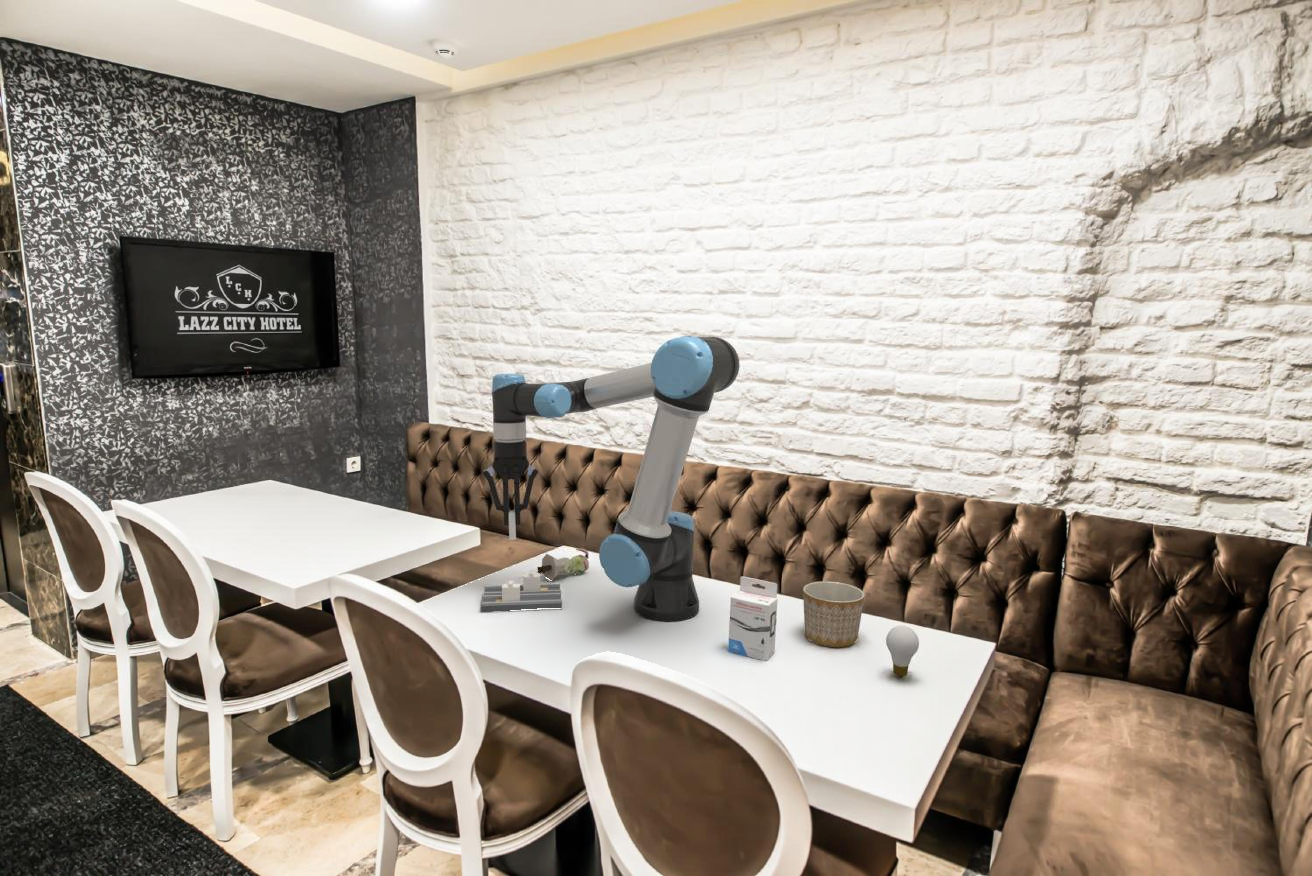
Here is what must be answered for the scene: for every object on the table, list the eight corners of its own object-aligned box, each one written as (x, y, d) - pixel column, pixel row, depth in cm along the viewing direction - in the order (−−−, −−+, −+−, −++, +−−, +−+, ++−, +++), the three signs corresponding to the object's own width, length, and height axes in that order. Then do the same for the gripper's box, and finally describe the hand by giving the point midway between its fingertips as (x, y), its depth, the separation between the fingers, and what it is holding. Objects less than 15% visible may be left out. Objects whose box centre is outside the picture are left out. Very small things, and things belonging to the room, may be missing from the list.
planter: (812, 622, 169) (814, 577, 167) (868, 635, 162) (871, 588, 161) (791, 641, 158) (794, 593, 156) (851, 656, 151) (854, 606, 150)
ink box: (726, 652, 152) (729, 582, 150) (736, 643, 156) (739, 575, 154) (766, 661, 148) (770, 590, 146) (775, 652, 152) (779, 582, 150)
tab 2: (540, 587, 182) (540, 570, 182) (540, 590, 180) (540, 573, 179) (523, 587, 182) (523, 570, 181) (523, 591, 179) (523, 574, 179)
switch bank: (559, 591, 185) (559, 583, 184) (561, 609, 173) (561, 600, 173) (484, 594, 182) (484, 585, 181) (481, 612, 170) (481, 603, 170)
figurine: (551, 581, 187) (600, 573, 197) (547, 552, 188) (596, 545, 198) (534, 584, 193) (582, 576, 203) (530, 556, 195) (578, 549, 204)
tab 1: (520, 598, 175) (519, 580, 174) (519, 601, 172) (519, 583, 172) (502, 598, 174) (502, 580, 173) (502, 602, 172) (501, 584, 171)
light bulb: (890, 667, 147) (894, 618, 145) (920, 676, 143) (924, 626, 142) (878, 677, 142) (882, 627, 141) (909, 687, 138) (913, 635, 137)
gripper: (538, 437, 180) (540, 533, 183) (482, 438, 178) (485, 535, 181) (538, 441, 173) (540, 541, 176) (480, 442, 171) (483, 543, 174)
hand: (512, 538), depth 179 cm, fingers closed
